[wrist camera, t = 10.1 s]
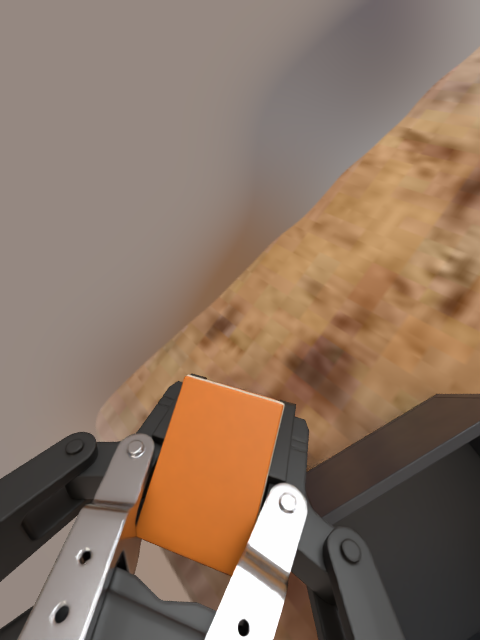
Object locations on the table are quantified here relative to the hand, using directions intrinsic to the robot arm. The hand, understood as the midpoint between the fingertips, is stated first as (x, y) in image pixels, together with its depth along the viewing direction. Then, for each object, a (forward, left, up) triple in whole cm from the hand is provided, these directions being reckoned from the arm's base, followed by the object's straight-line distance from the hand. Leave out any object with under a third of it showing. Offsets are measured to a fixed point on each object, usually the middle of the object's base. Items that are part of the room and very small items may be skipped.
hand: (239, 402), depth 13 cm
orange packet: (-1, -1, -6) cm, 6 cm away
